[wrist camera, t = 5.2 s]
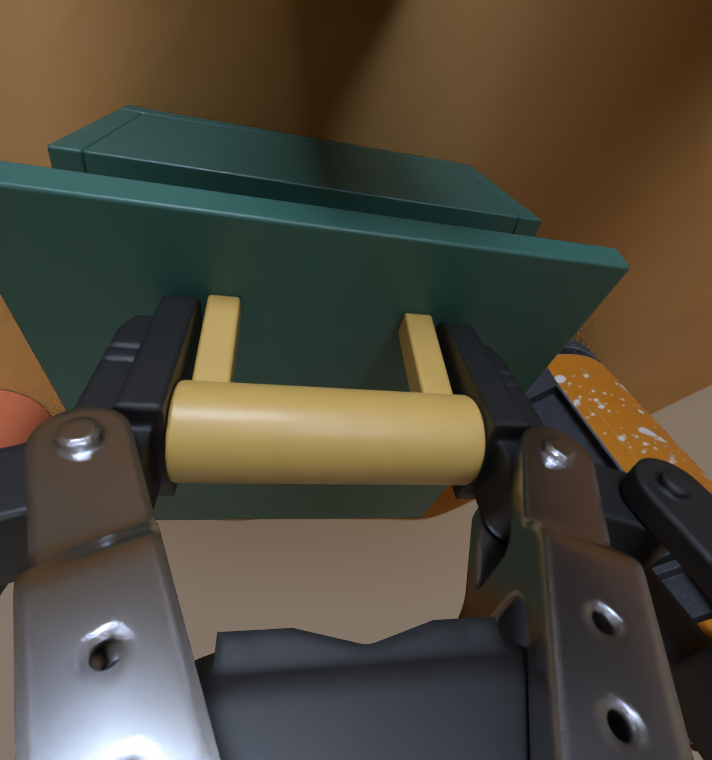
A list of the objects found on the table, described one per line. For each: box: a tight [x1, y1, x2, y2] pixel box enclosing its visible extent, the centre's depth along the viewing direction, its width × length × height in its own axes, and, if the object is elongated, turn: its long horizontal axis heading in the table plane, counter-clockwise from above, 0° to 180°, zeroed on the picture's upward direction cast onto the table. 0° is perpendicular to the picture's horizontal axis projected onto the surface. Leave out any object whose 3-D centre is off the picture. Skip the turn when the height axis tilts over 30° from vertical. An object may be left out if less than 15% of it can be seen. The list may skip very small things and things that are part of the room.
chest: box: [48, 105, 542, 237], centre depth 19 cm, size 15×14×7 cm
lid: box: [0, 161, 629, 520], centre depth 13 cm, size 15×14×5 cm
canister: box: [525, 339, 712, 751], centre depth 19 cm, size 9×11×20 cm
